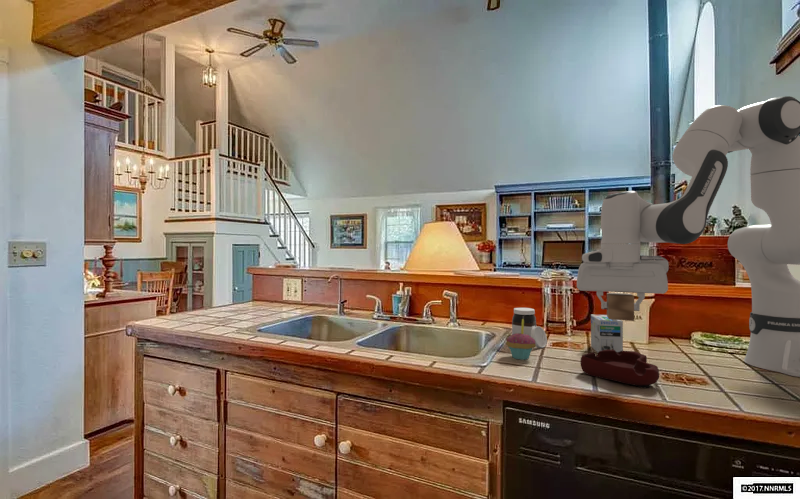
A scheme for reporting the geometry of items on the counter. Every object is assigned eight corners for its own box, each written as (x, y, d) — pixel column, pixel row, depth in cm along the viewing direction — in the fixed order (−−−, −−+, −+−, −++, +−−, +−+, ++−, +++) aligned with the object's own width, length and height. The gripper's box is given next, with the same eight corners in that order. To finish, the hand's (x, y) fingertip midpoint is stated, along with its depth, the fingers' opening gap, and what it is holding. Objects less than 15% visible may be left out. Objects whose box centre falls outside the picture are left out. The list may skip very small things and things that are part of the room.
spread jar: (515, 338, 141) (515, 306, 141) (548, 342, 136) (548, 308, 136) (508, 346, 131) (508, 311, 130) (545, 350, 126) (545, 314, 126)
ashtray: (576, 364, 112) (576, 346, 112) (642, 369, 107) (642, 351, 107) (585, 385, 96) (585, 364, 95) (663, 393, 90) (663, 371, 90)
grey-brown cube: (630, 316, 102) (630, 293, 102) (634, 320, 97) (634, 296, 97) (606, 315, 104) (606, 292, 104) (608, 319, 99) (608, 295, 99)
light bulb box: (623, 356, 119) (623, 320, 119) (599, 355, 120) (599, 320, 120) (612, 347, 129) (612, 314, 129) (589, 346, 131) (589, 313, 130)
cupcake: (511, 352, 124) (511, 313, 124) (539, 356, 119) (539, 316, 119) (501, 358, 117) (501, 318, 117) (530, 363, 112) (530, 321, 112)
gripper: (665, 255, 100) (665, 310, 100) (576, 254, 108) (576, 305, 108) (671, 256, 94) (671, 314, 94) (577, 255, 102) (576, 309, 102)
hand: (619, 309), depth 101 cm, fingers closed on grey-brown cube, 5 cm apart
